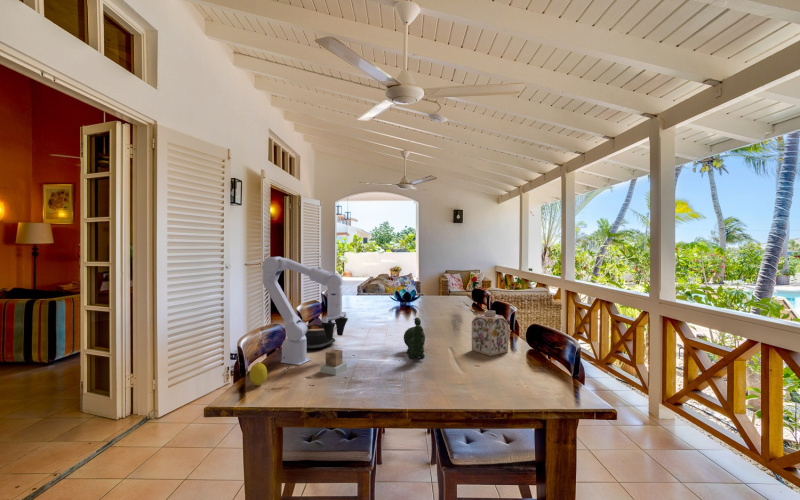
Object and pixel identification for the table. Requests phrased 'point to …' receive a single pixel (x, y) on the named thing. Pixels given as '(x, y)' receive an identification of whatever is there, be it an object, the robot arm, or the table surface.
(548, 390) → the table surface
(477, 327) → the decorative jar
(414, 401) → the table surface
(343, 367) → the grey block
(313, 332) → the casserole
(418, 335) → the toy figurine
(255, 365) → the lemon
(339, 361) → the walnut block
